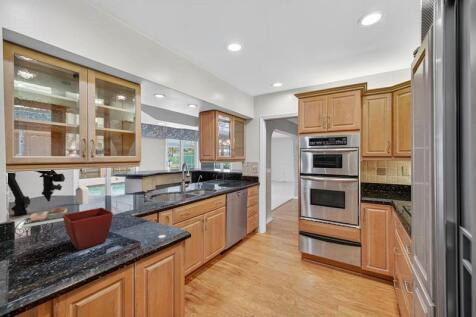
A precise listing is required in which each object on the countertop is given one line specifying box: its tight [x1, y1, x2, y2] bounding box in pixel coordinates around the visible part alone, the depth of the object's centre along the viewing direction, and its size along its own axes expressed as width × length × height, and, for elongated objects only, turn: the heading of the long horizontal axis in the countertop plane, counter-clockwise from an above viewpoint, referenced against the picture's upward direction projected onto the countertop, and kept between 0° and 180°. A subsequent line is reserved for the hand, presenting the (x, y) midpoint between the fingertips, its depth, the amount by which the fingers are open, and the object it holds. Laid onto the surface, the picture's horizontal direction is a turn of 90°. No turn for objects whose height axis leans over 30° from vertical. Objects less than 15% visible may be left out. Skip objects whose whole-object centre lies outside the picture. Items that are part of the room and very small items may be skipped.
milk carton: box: [75, 184, 90, 205], centre depth 195 cm, size 7×7×19 cm
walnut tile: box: [50, 206, 65, 215], centre depth 168 cm, size 8×10×2 cm
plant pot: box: [62, 207, 114, 251], centre depth 114 cm, size 19×19×17 cm
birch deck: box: [28, 208, 68, 219], centre depth 165 cm, size 22×14×2 cm, turn 131°
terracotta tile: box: [29, 214, 48, 223], centre depth 152 cm, size 8×10×2 cm
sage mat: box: [21, 216, 64, 229], centre depth 154 cm, size 26×22×1 cm
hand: (48, 201), depth 165 cm, fingers closed
